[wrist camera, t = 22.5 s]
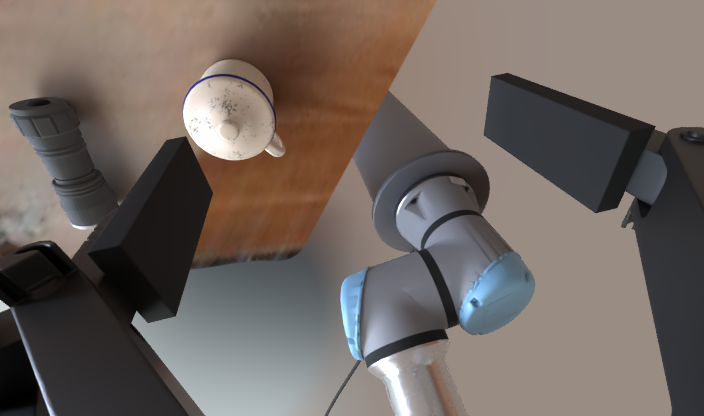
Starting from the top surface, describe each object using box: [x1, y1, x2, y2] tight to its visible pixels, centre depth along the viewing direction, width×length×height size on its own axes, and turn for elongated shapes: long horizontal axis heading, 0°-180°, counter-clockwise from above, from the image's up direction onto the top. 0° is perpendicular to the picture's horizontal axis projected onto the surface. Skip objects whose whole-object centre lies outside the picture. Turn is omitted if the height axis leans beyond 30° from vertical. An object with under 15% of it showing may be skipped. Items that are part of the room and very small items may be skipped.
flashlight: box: [9, 97, 119, 229], centre depth 37 cm, size 15×5×5 cm, turn 177°
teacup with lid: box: [183, 59, 285, 160], centre depth 35 cm, size 12×9×12 cm
